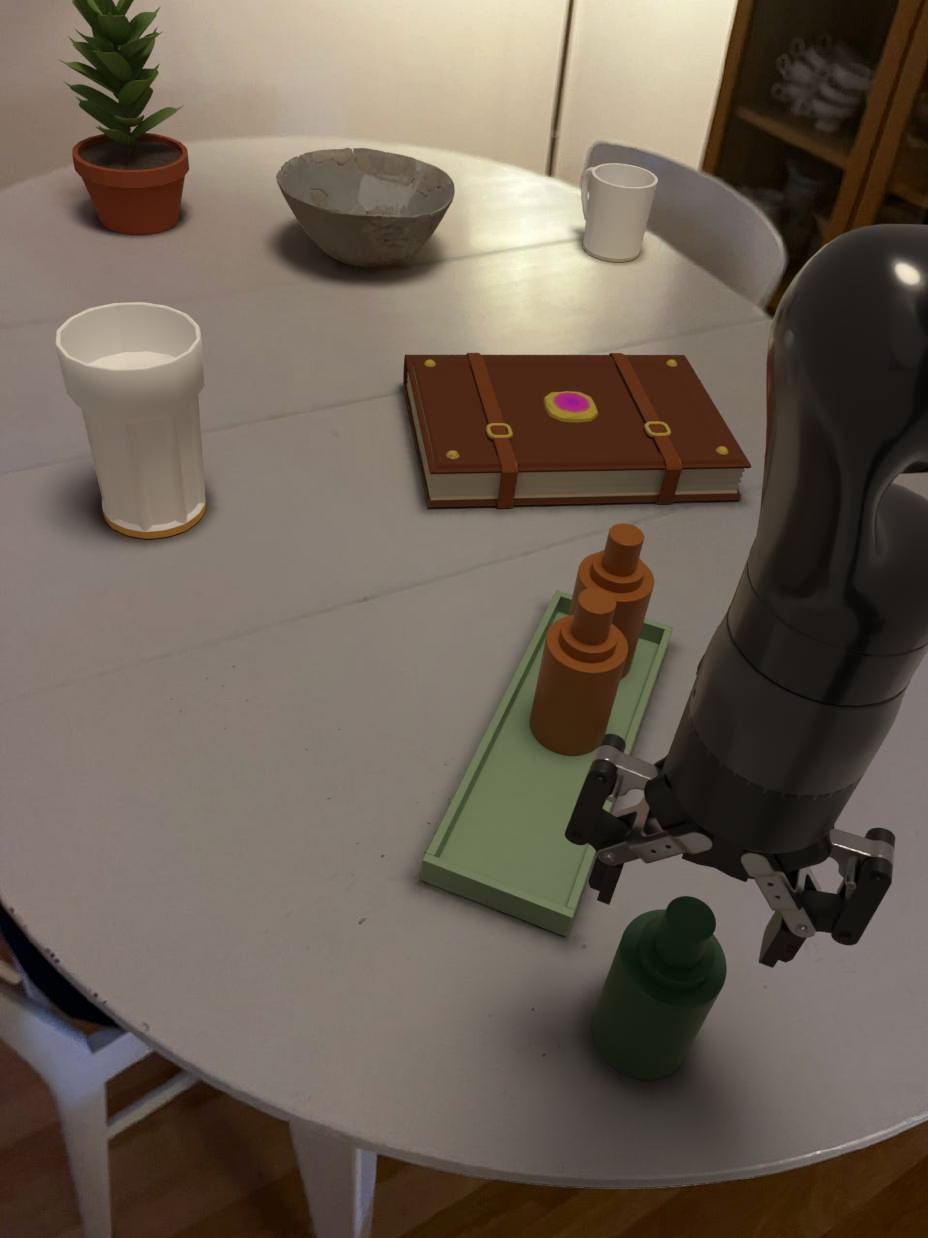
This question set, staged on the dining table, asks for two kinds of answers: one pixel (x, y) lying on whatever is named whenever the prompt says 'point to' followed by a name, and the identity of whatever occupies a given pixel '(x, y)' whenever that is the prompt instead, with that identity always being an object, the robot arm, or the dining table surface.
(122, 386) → the cup
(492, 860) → the tray
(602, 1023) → the green bottle
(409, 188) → the ceramic bowl
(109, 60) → the potted plant
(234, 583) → the dining table surface
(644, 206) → the mug
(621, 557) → the amber bottle far
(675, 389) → the book
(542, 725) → the amber bottle mid
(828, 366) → the robot arm
